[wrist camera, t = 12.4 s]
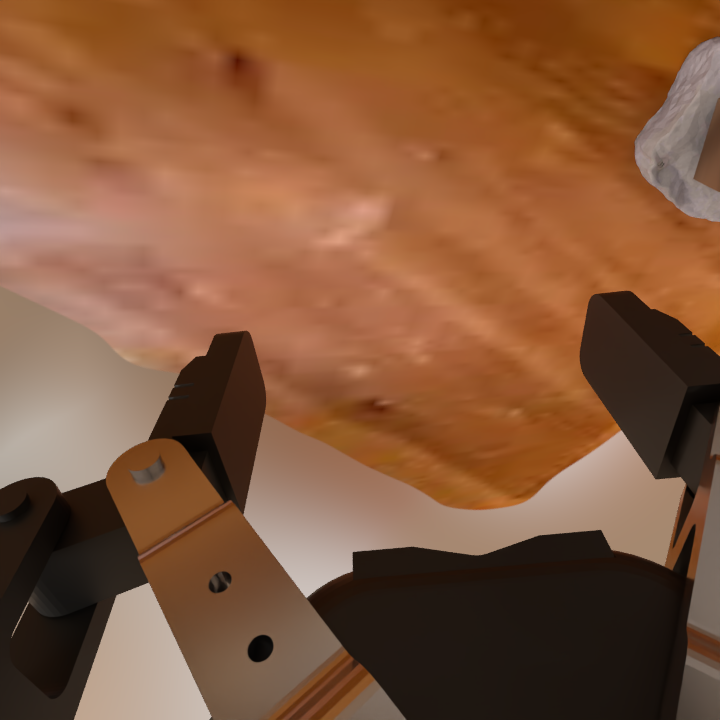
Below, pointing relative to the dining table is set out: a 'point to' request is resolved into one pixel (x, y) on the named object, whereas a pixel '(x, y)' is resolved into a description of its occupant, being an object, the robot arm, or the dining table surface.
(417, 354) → the dining table surface
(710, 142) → the walnut cube
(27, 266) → the dining table surface
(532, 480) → the dining table surface
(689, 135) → the stone block
